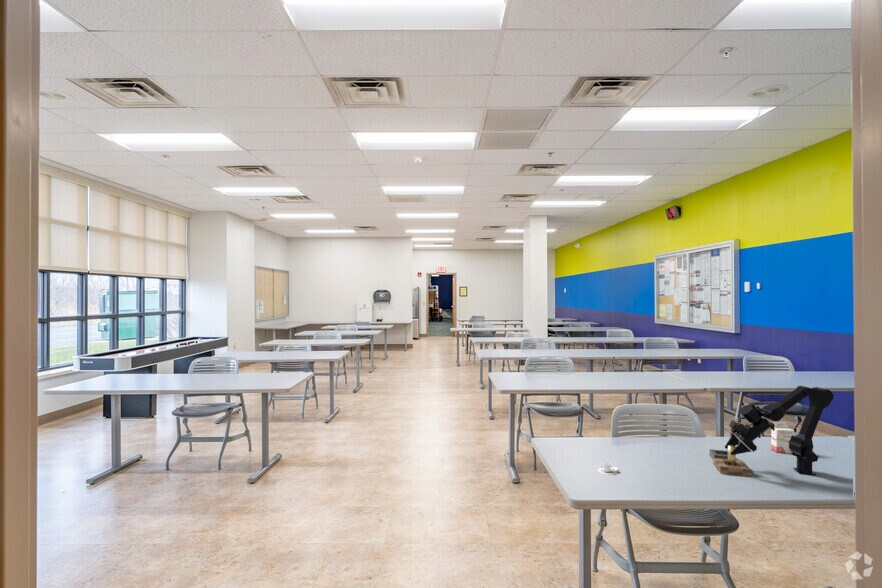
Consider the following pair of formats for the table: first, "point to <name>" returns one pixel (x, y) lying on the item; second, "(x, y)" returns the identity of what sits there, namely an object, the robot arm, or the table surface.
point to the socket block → (718, 454)
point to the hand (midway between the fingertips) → (728, 451)
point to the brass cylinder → (731, 457)
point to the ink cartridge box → (781, 437)
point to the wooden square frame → (731, 467)
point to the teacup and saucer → (608, 468)
